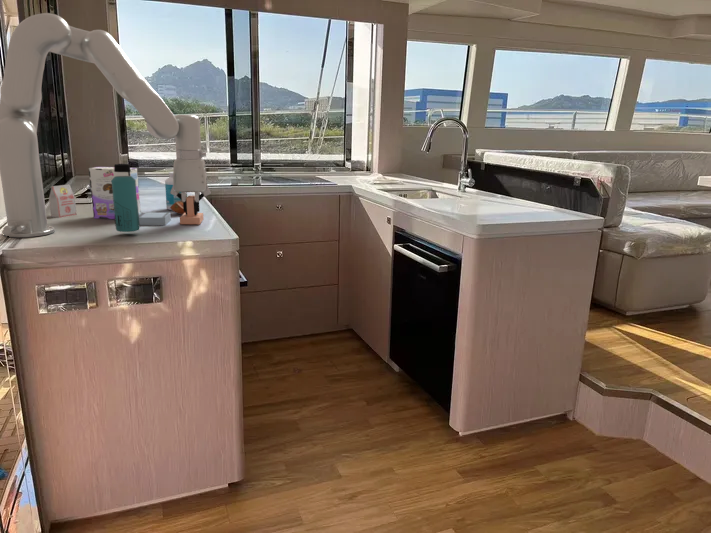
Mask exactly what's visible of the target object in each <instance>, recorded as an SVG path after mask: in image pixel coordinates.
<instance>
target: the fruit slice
mask: <svg viewBox="0 0 711 533" xmlns="http://www.w3.org/2000/svg"><path fill="white" fill-rule="evenodd" d="M170 208H171V209H172V210H171V211H173V212H174V213H176V214H179V215H183V214H184V213H185V212H184V210H183V202H182V200H181V201H178V202H175V203H174V204H173V205H172V206H171V207H170Z"/></svg>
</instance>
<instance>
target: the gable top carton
mask: <svg viewBox="0 0 711 533" xmlns="http://www.w3.org/2000/svg"><path fill="white" fill-rule="evenodd" d="M48 201H49V212H50V217H51V218H60V219H61V218H65V217H71V216H76V215H77V213H78V212H77V206H76V204H77V203H76V196H75V195H74V191H73V190H72V186H71V184H62V185H61V184H60V185H52V186H50V192H49V197H48Z"/></svg>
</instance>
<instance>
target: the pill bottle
mask: <svg viewBox="0 0 711 533" xmlns="http://www.w3.org/2000/svg"><path fill="white" fill-rule="evenodd" d="M168 176H169V177H167V178H166V179H165V180H164V182H165V183H164V185H165V186H164V187H165V204H166V209H167V210H168V211H173V210H172V209H171V208H170V207H171V206H172V205H173V204H174V203H175V202H178V201H181V199H180V198H178V197H177V196H175V195H172V194H171V193H170V192H171V189H172V187H173V171H168ZM179 193H181V192H179Z"/></svg>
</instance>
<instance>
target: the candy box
mask: <svg viewBox="0 0 711 533" xmlns="http://www.w3.org/2000/svg"><path fill="white" fill-rule="evenodd" d="M87 169H88V176H89V177H88V178H89V186H90V195H91V204H92V205H91V206H92V212H93V219H98V220H100V219H101V220H103V219H104V220H115V213H114V202H113V190H112V182H111V180H112V179H113V178H114V177H115V176H131V177H133V178H134V179H135V180H136V182H135V183H136V195H137V205H138V213H142V212H141V211H142V210H141V201H140V198H141V197H140V187H139V185H140V184H139V175H138V167H137V168H136V167H130V170H131V172H114V166H94V167H89V168H87Z"/></svg>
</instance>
